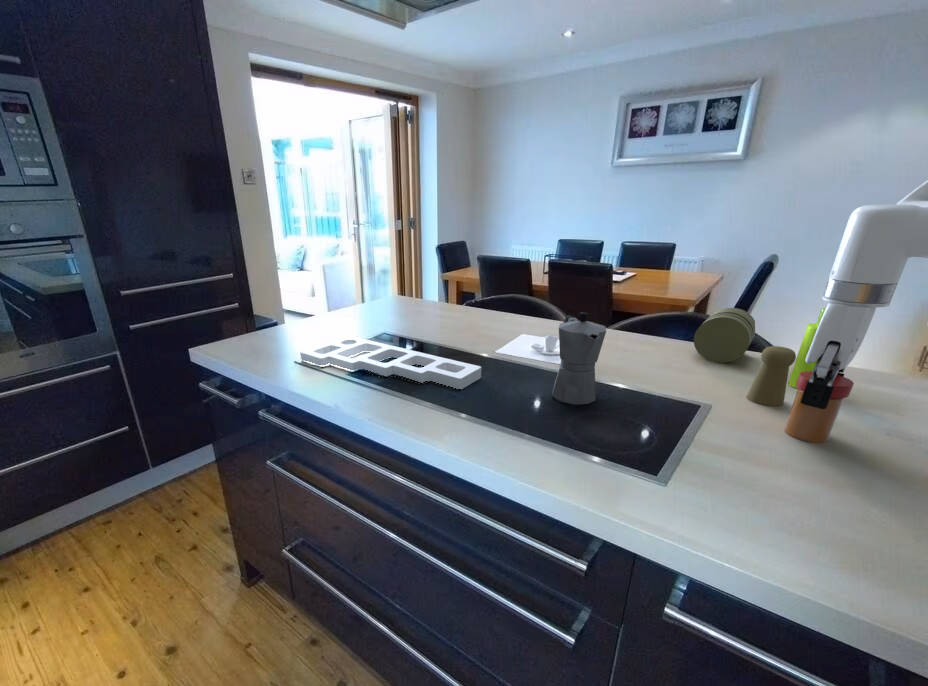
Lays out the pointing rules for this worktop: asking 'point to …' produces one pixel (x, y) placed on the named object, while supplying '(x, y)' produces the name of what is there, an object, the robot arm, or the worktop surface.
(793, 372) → the soap dispenser
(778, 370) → the cork
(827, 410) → the jam jar
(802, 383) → the jam lid
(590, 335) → the coffeepot
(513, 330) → the worktop surface
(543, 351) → the teacup and saucer
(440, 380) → the holder
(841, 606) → the worktop surface
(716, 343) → the piston
